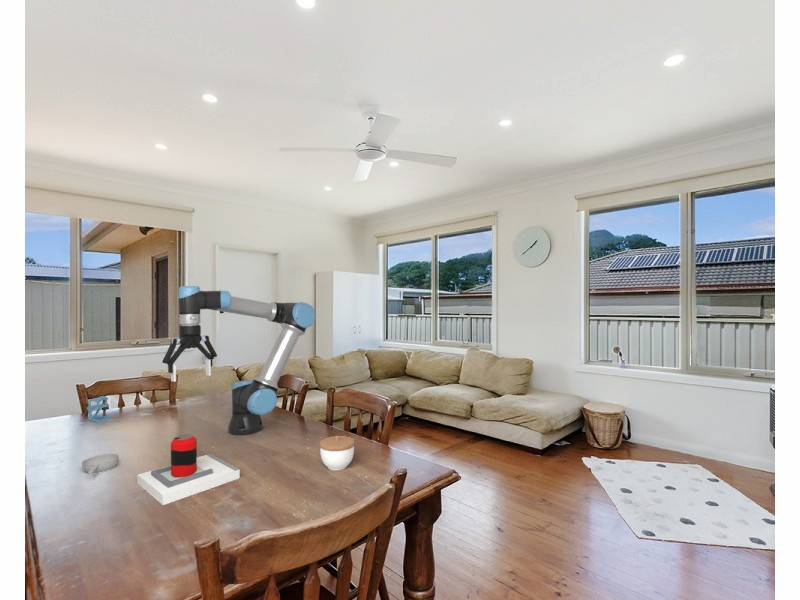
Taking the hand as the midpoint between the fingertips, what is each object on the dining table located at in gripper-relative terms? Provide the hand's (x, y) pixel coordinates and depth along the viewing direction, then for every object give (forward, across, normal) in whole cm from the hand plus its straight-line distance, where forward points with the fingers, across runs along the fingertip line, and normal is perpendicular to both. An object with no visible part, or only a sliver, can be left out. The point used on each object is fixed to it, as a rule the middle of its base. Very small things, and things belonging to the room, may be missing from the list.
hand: (191, 378), depth 162 cm
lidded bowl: (+31, +26, -56) cm, 69 cm away
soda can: (+26, -14, -25) cm, 39 cm away
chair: (+30, -9, +85) cm, 90 cm away
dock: (+30, -13, -25) cm, 41 cm away
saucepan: (+29, -30, +8) cm, 43 cm away
